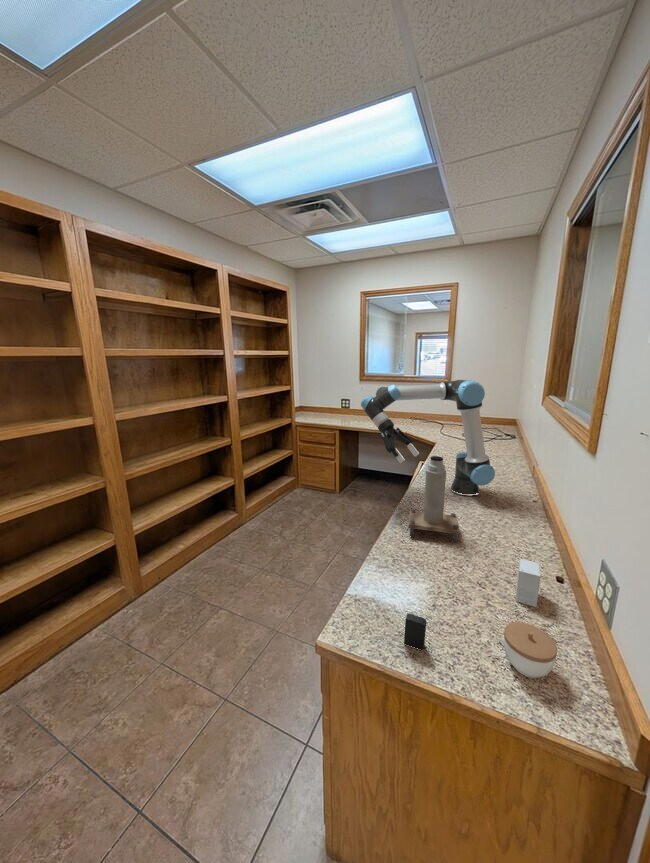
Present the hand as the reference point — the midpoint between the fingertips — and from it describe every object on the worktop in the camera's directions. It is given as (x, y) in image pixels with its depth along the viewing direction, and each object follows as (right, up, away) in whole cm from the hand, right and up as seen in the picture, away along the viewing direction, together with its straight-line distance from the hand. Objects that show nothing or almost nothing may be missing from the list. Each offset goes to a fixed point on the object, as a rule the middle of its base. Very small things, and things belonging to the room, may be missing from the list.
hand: (410, 458), depth 153 cm
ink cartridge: (-17, -43, -68) cm, 82 cm away
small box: (+23, -39, -51) cm, 68 cm away
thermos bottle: (+6, -26, -13) cm, 29 cm away
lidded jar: (+8, -44, -75) cm, 87 cm away
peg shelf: (+7, -31, -12) cm, 34 cm away
